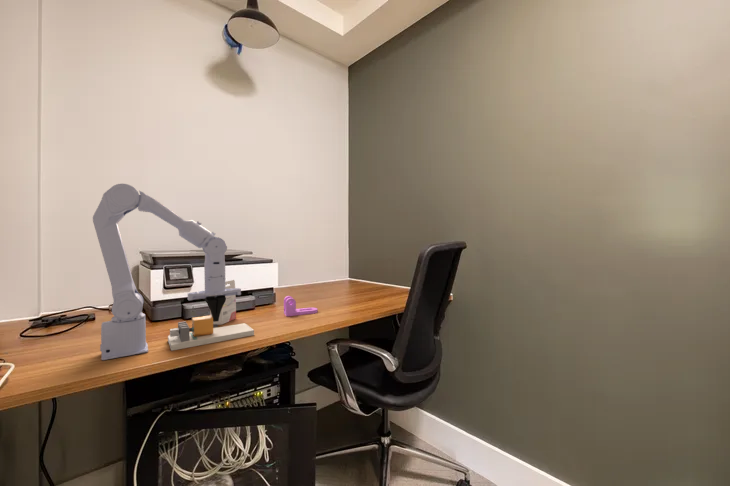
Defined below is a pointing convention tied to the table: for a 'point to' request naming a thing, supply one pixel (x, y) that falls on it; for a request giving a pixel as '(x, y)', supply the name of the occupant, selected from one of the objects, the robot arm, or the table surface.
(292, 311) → the bracket
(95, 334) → the table surface
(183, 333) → the board
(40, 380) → the table surface
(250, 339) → the table surface
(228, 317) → the ink cartridge box
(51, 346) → the table surface
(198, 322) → the orange block
